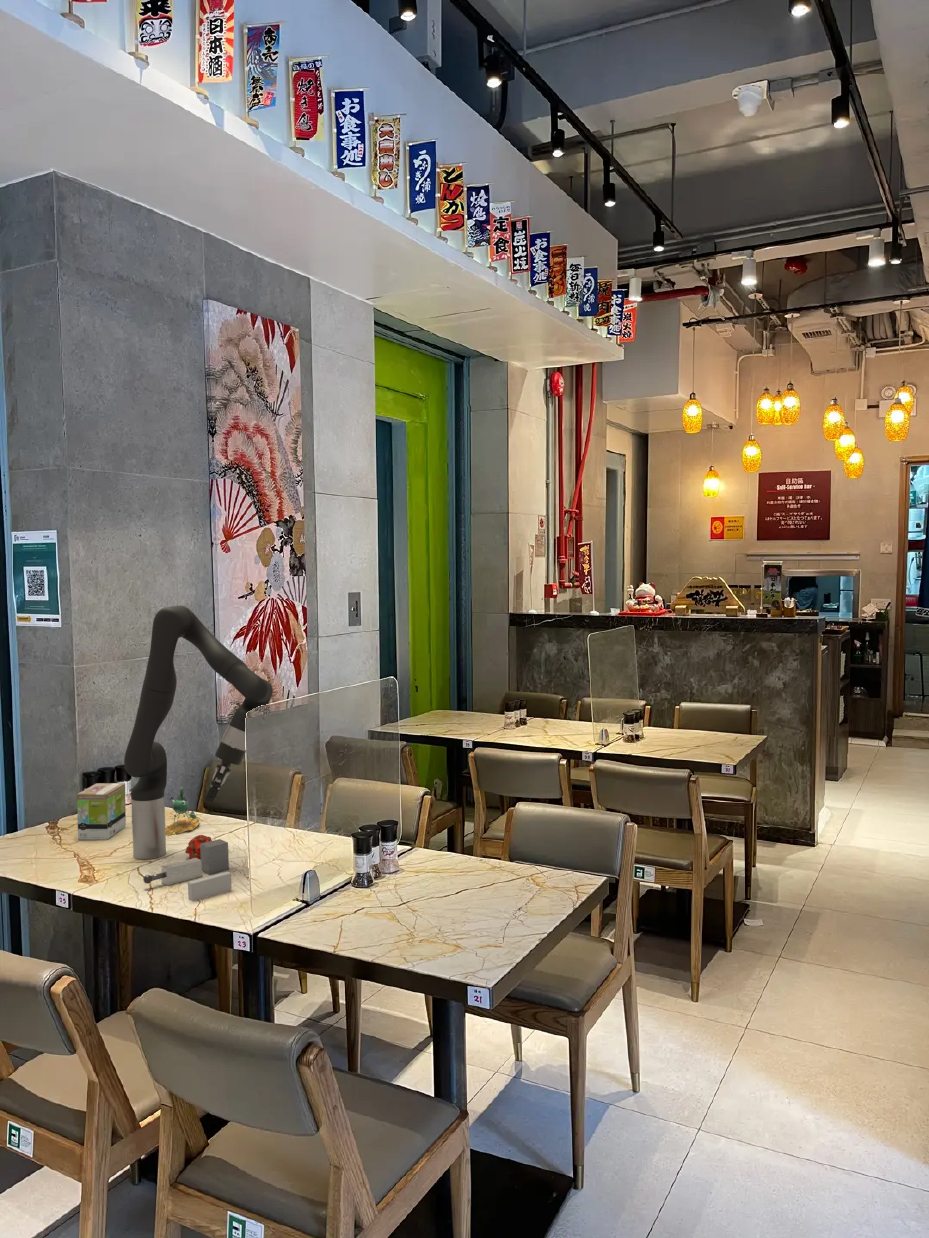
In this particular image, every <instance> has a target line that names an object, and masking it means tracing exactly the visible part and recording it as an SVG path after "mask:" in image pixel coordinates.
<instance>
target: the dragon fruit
mask: <svg viewBox="0 0 929 1238" xmlns="http://www.w3.org/2000/svg"><path fill="white" fill-rule="evenodd" d="M210 841H213V840H212V838H211V837H210V836H207V835H205V834H198V835H196V836H194V837H192V839H190V840H189V841H188V844H187V846H186V849H185V850H184V851H185V854H188V860H189V859H193V858H198V859H200V860H201V852H200V844H201V843H206V842H210Z"/></svg>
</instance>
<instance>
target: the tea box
mask: <svg viewBox="0 0 929 1238" xmlns="http://www.w3.org/2000/svg"><path fill="white" fill-rule="evenodd" d="M76 799H77V803H76V804H77V808H76V809H77V817H76V818H77V840H81V841H82V840H84V841H86V840H87V841H90V840H91V841H94V840H95V841H97V840H102V841H105V840H109V839H110V838H111V837H112V836H114V835H115V834H117V833H118V832H120V831H121V830H122V829H124V828H126V826H127V818H126V810H127V809H126V784H125V783H123V782H122V783H121V782H117V783H115V782H113V783H112V782H111V783H110V782H108V783H107V782H103V783H101V782H100V783H99V782H98V783H97V782H96V783H94V784H93V785H91V786H89V787H87V788H85V789H83V790H82V791H80V792H78V793H77V795H76Z"/></svg>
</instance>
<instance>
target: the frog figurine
mask: <svg viewBox="0 0 929 1238" xmlns="http://www.w3.org/2000/svg"><path fill="white" fill-rule="evenodd" d="M179 790H180V791H179V795H178V796H177V799H176V800H175V798H174V796H171V797H170V798H169V800H170V801H171V804H172V805H173V806H172V807H171V809H172V810H173V811H174V812H175V814H174V815H173V817H174V818H173V823H172V822H171V823H169V824H168V825H166V826H165V831H166V837H169V836H171V835H173V836H174V835H180V834H181V833H185V832H188V831H193V830H194V829H195V828H196V827H198V825H200V817H197V815H196V814H195V813H197V811H196V810H194V809H192V810H191V813H190V812H189V808H190V805H189V804H190V803H189V801H188V800H187V799H186V797H185V796H184V787H182V786H181V787H180V789H179ZM181 815H182V816H183V817H184V818H183V819H179V818H180V816H181ZM185 817H187V818H185ZM176 818H177V820H176ZM175 820H176V821H175Z"/></svg>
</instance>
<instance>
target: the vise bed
mask: <svg viewBox="0 0 929 1238" xmlns="http://www.w3.org/2000/svg"><path fill="white" fill-rule="evenodd" d="M187 891H188V893H187V894H188V895H187V896H188V900H189V901H191V902H194V901H198V900H200V899H201V900H202V899H205V898H208V897H212V896H215V895H216V896H217V895H219V894H223V893H226V892H229V891H232V873H231V872H229V871H223V872H219V873H215V874H211V875H208V876H205V877H202V878H201V877H200V878H198V879H197V878H196V879H194V880H193V879H192V880H188V881H187Z"/></svg>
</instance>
